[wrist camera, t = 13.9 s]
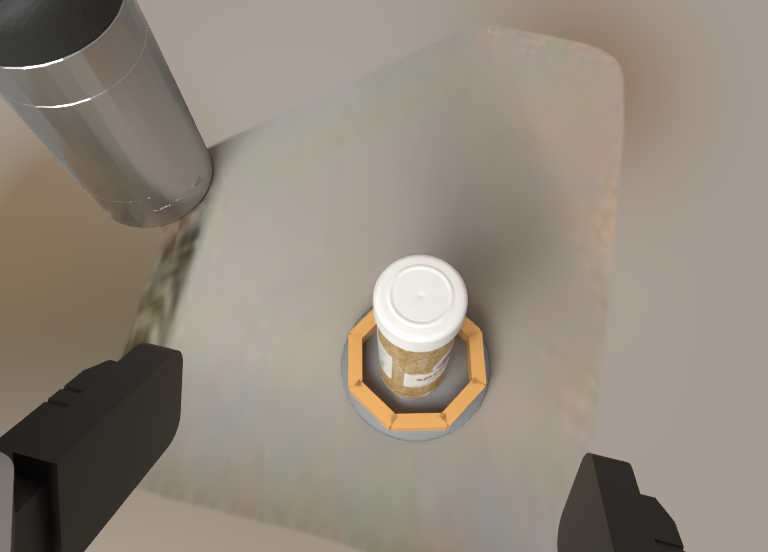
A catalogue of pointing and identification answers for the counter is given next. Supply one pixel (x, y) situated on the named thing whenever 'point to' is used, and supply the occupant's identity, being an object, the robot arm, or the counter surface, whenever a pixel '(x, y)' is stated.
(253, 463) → the counter surface
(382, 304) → the spice jar
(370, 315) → the orange rimmed grey dish
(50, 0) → the robot arm
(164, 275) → the counter surface
